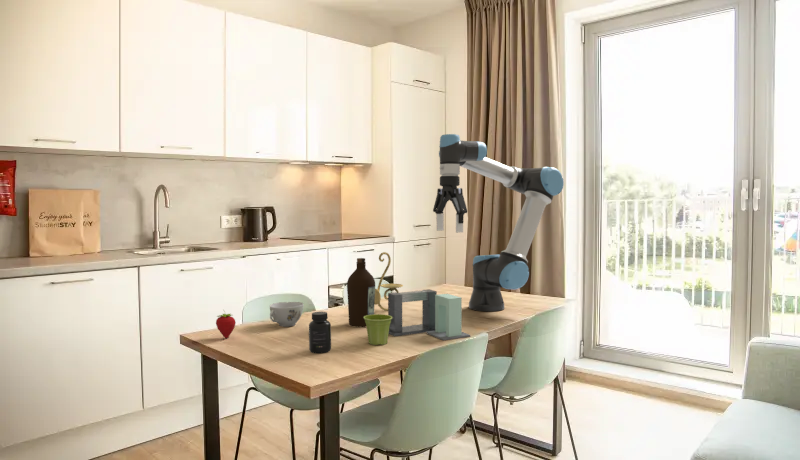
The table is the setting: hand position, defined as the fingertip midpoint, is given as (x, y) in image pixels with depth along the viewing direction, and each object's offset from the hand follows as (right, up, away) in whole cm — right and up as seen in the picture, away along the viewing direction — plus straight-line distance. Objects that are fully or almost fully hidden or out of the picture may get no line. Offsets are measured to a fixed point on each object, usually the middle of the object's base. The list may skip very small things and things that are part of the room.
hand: (449, 231), depth 214 cm
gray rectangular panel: (-2, -36, -19) cm, 41 cm away
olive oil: (-33, -35, -3) cm, 49 cm away
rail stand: (-14, -36, -13) cm, 41 cm away
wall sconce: (-24, -34, +22) cm, 47 cm away
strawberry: (-78, -37, -23) cm, 89 cm away
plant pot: (-26, -37, -30) cm, 54 cm away
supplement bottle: (-44, -37, -39) cm, 70 cm away
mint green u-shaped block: (-2, -35, -19) cm, 40 cm away
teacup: (-62, -35, -4) cm, 72 cm away
